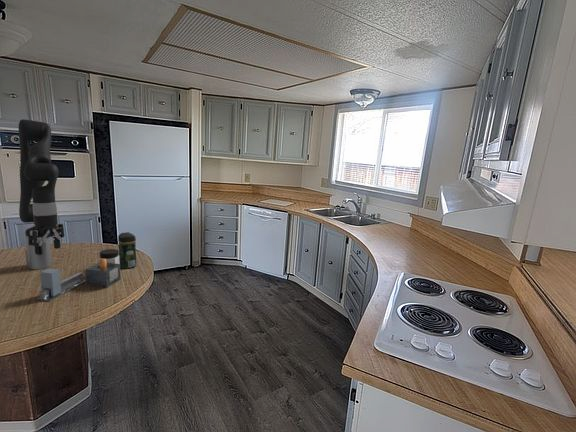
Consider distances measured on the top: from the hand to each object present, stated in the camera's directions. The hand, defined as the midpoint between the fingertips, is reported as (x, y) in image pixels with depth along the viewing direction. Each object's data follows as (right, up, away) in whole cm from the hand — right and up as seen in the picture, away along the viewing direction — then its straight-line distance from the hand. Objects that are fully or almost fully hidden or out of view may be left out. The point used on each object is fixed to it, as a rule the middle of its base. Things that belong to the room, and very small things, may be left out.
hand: (48, 251), depth 123 cm
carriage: (-1, -19, +4) cm, 20 cm away
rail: (-1, -18, +10) cm, 21 cm away
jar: (+8, -15, +30) cm, 34 cm away
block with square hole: (+11, -17, +20) cm, 28 cm away
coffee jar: (+11, -13, +41) cm, 45 cm away
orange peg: (+11, -14, +19) cm, 26 cm away
